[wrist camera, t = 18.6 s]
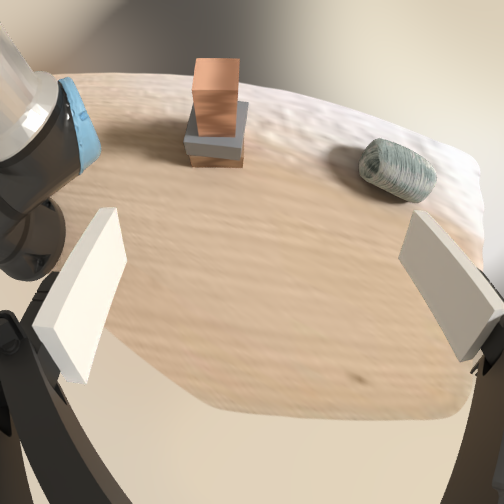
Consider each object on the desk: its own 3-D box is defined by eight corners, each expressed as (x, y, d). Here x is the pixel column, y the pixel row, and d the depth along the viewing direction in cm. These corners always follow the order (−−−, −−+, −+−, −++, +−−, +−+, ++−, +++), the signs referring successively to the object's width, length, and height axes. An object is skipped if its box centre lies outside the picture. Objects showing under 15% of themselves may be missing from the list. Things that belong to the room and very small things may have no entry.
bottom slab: (192, 168, 49) (189, 157, 45) (195, 126, 51) (193, 113, 47) (242, 168, 50) (243, 157, 46) (242, 126, 51) (244, 113, 47)
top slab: (186, 154, 45) (183, 141, 42) (196, 111, 47) (194, 97, 43) (240, 160, 46) (241, 148, 42) (246, 116, 47) (248, 102, 43)
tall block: (198, 136, 42) (191, 90, 31) (201, 107, 43) (196, 58, 32) (235, 137, 42) (238, 90, 31) (236, 108, 43) (239, 58, 32)
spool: (348, 182, 47) (391, 142, 40) (349, 151, 53) (386, 114, 45) (406, 228, 50) (449, 196, 43) (402, 193, 56) (439, 163, 48)
